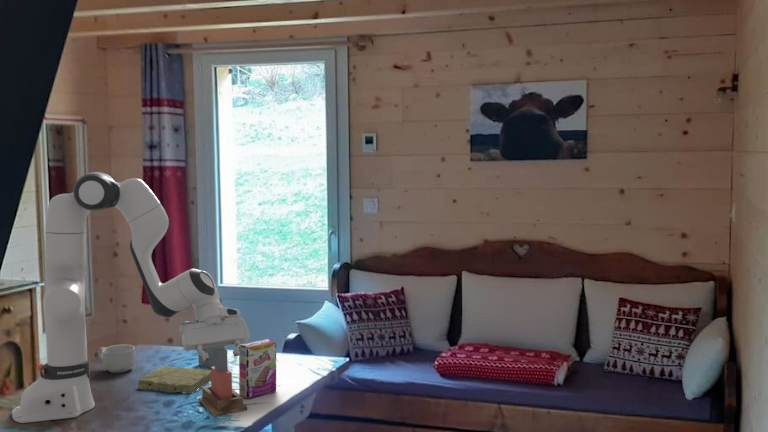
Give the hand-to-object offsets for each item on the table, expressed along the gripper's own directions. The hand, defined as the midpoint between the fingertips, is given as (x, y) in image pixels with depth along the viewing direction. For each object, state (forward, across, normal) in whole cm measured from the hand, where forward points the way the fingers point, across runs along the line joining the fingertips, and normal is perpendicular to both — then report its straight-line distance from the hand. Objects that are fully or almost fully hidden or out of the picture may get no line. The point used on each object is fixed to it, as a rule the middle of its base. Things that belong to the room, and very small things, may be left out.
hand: (221, 357), depth 228 cm
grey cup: (-22, +11, +43) cm, 49 cm away
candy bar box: (+7, +13, +14) cm, 21 cm away
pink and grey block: (+9, 0, +10) cm, 14 cm away
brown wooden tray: (+10, 0, +11) cm, 15 cm away
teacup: (-29, -20, +50) cm, 61 cm away
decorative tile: (-10, -6, +32) cm, 34 cm away
